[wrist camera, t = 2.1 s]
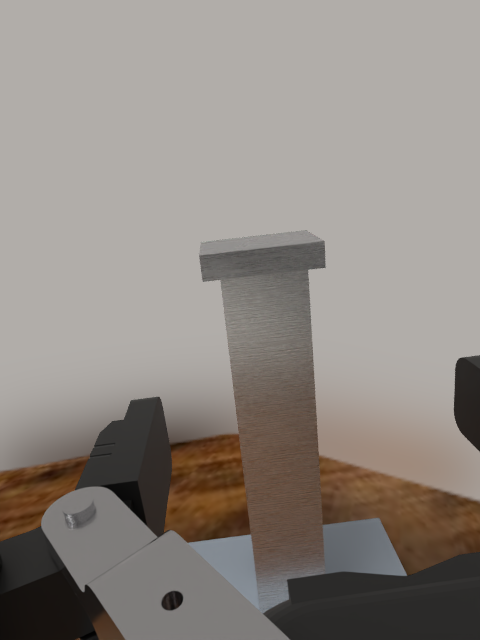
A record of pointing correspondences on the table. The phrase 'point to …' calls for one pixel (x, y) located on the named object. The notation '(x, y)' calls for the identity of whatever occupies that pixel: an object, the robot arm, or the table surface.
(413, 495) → the table surface
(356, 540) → the stand base
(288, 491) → the column
